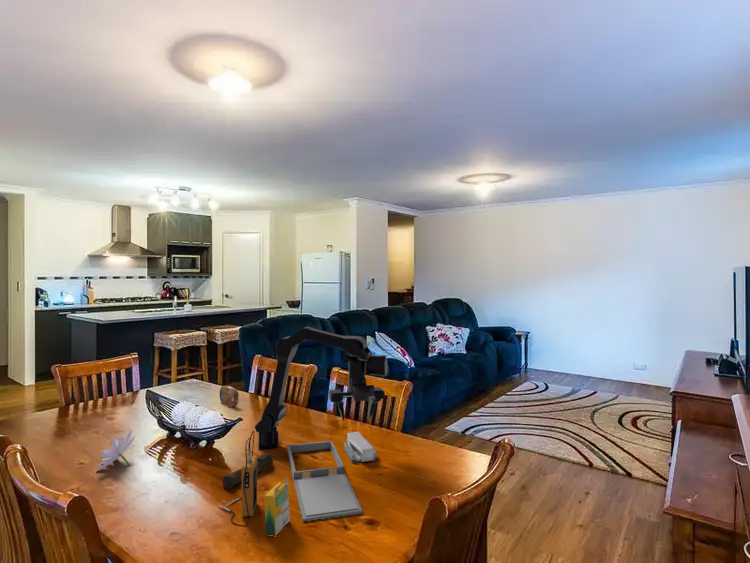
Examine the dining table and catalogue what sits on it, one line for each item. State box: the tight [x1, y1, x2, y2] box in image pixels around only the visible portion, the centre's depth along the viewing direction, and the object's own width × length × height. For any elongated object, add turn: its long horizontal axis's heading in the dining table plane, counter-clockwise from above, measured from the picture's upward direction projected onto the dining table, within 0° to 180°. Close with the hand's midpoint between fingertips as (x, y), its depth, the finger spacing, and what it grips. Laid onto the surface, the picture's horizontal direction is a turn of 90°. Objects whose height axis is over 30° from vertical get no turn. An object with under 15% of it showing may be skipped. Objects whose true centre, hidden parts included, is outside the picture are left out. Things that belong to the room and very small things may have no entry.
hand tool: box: [222, 452, 274, 490], centre depth 140 cm, size 19×4×5 cm, turn 147°
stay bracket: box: [343, 439, 378, 463], centre depth 157 cm, size 8×12×2 cm
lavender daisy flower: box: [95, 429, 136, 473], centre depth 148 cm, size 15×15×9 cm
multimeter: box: [218, 430, 258, 526], centre depth 120 cm, size 15×10×20 cm
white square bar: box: [346, 431, 374, 463], centre depth 157 cm, size 4×16×4 cm, turn 21°
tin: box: [219, 385, 239, 408], centre depth 213 cm, size 15×3×8 cm, turn 43°
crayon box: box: [264, 475, 290, 537], centre depth 112 cm, size 7×3×12 cm, turn 163°
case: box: [286, 440, 363, 522], centre depth 139 cm, size 15×45×2 cm, turn 16°
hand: (356, 419), depth 157 cm, fingers open, 9 cm apart
